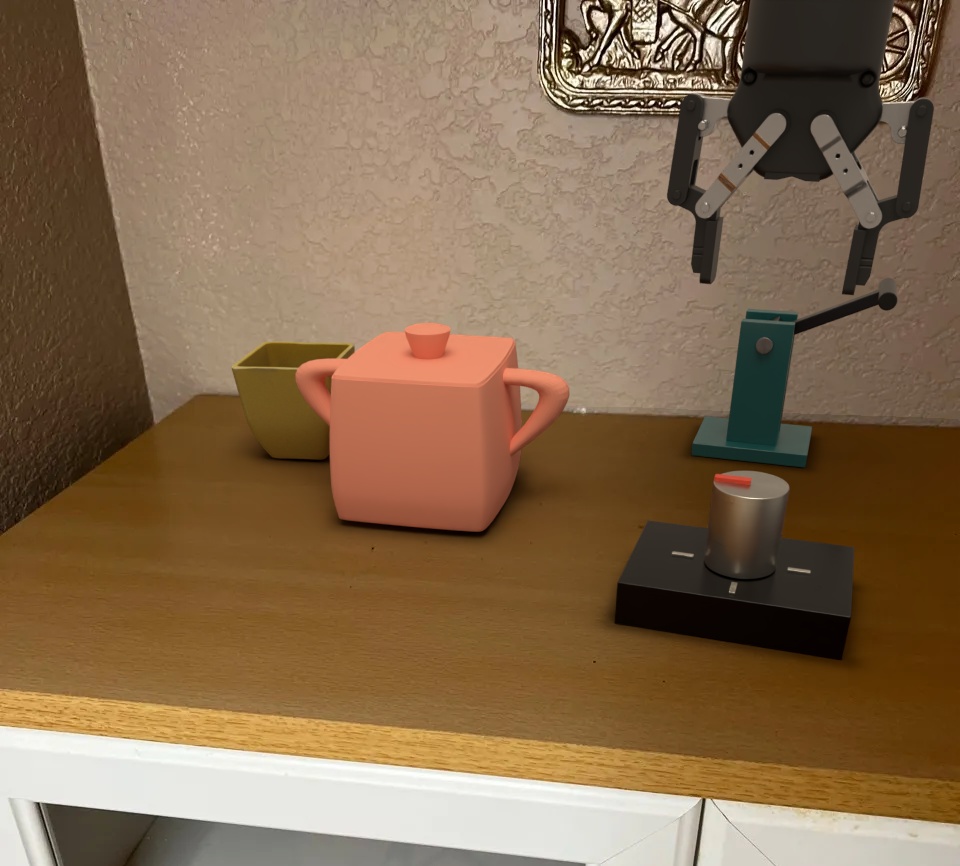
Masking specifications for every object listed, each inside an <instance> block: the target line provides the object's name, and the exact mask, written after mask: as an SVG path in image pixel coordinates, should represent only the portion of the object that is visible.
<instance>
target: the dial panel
mask: <svg viewBox="0 0 960 866" xmlns="http://www.w3.org/2000/svg"><path fill="white" fill-rule="evenodd" d="M707 530H708V527H703V526H696V525H687V524H679V523H672V522H664V521H656V520H650V519H649V520H647V521H646V523H645V524H644V527H643V529H642V531H641V533H640V535H639V537H638V539H637V541H636V544H635V546H634V547H633V550H632V552H631V554H630V556H629V558H628V560H627V561H626V564H625V566H624V568H623V570H622V572H621V574H620V576H619V578H618V580H617V585H616V598H615V610H614V611H615V612H614V623H615V624H619V625H625V626H632V627H637V628H644V629H651V630H656V631H662V632H669V633H674V634H679V635H686V636H693V637H698V638H704V639H705V638H706V639H711V640H717V641H718V640H719V641H724V642H730V643H736V644H742V645H747V646H748V645H750V646H756V647H761V648H766V649H773V650H779V651H786V652H792V653H797V654H799V653H800V654H803V655H804V654H805V655H811V656H816V657H817V656H818V657H822V658H829V659H835V660H843V656H844V652H845V648H846V643H847V637H848V634H849V628H850V625H851V619H852V609H853V608H852V607H853V606H852V604H853V587H854V586H853V583H854V567H855V565H854V564H855V546H849V545H842V544H841V545H840V544H832V543H827V542H826V543H825V542H819V541H818V542H817V541H810V540H803V539H795V538H787V537H781V543H780V549H779V555H778V561H777V567H776V569H775V571H774V572H773V573H772V574H770V575H768V576H766V577H762V578H757V579H738V578H731V577H727V576H724V575H721V574H718V573H716V572H714V571H712V570H711V569H709V568H708V567H707V566H706V564H705V562H704V555H705V547H706V538H707Z"/></svg>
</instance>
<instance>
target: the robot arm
mask: <svg viewBox="0 0 960 866" xmlns="http://www.w3.org/2000/svg"><path fill="white" fill-rule="evenodd" d="M894 6H895V0H750V1H749V6H748V7H749V8H748V15H747V24H746V33H745V39H744V40H745V41H744V47H743V55H742V63H741V70H740V71H741V72H740V77H739V82H738V85H737V87H736V89H735V92H734V93H733V94H732V97H731V98H728V97H718V96H707V94H705V93H703V92H692V93H689V94H687V95H686V96H684V97H683V98H682V100H681V102H680V108H679V114H678V121H677V126H676V128H677V129H676V133H675V141H674V147H673V153H672V159H671V165H670V172H669V179H668V185H667V193H666V199H667V202H668V203H669V204H670V205H671V206H675V207H680V208H682V209H684V210H686V211H688V212H690V213H691V214H692V215H693V217H694V220H695V223H694V226H695V227H694V232H693V233H694V234H693V242H692V243H693V244H692V252H691V261H690V266H691V270H692V273H693V274H699V279H698V280H699V284H701V285H703V284H705V285H712V284H713V283H714V282H715V281H716V279H717V278H716V277H717V272H718V266H719V265H718V264H719V257H720V248H721V240H722V232H723V224H724V216H721V210H722V207H723V206H724V205H725V204H726V203H727V202H728V201H729V200H730V198H731V197H732V196H733V195H734V193H735V192H736V191H737V190H738V189H739V188H740V186H741V185H742V184H743V183H744V182H745V181H747V179H748V177H750V175H751V174H752V173H756V174H757V175H758V176H760V177H761V178H763V180H772V181H775V180H776V181H779V180H782V179H787V178H794V179H798V180H799V181H803V182H813V183H814V182H815V183H820V182H821V181H823V180H826V179H828V178H830V177H832V176H834V178H835V180H836V181H837V183H838V185H839V187H840V190H841V191H842V193H843V194H844V196H845V197H846V199H847V201H848V202H849V204H850V206H851V209H852V210H853V212H854V214H855V216H856V218H857V220H858V223H857V224H855V226H854V228H853V233H852V238H851V242H850V243H851V244H850V249H849V253H848V254H849V255H848V259H847V264H846V270H845V275H844V278H843V279H844V281H843V284H842V290H841V295H845V296H855V292H856V288H857V286H863V287H864V286H866V284H867V283H868V281H869V279H870V278H871V274H872V269H873V265H874V260H875V255H876V250H877V245H878V240H879V235H880V232H881V230H882V229H883V228H884V227H885V226H886V225H888V224H889V223H892V222H896V221H899V220H902V219H909V218H911V217H913V216H914V215H915V214H916V213H917V212H918V210H919V206H920V205H919V204H920V199H921V192H922V185H923V181H924V180H923V179H924V174H925V167H926V162H927V155H928V148H929V143H930V137H931V129H932V123H933V117H934V111H935V107H934V103H933V101H932V99H930V98H929V97H925V96H922V97H918V98H916V100H907V101H885V102H884V101H883V100H882V97H881V93H880V80H881V74H882V69H883V63H884V59H885V53H886V49H887V48H886V47H887V44H888V38H889V32H890V26H891V22H892V17H893V11H894ZM723 118H727V121H728V124H729V126H730V128H731V130H732V132H733V134H734V136H735V137H736V139H737V142H738V143H739V145H740V147H741V149H740V150H738V152H737V153H736V155H734V157H733V158H732V159H731V160H730V161H729V163H728V164H727V165H726V166H725V167H724V169H723V170H722V171H721V172H720V173H719V174H718V176H717V178H716V179H715V180H714V181H713V183H712V184H711V185H710V186H709V187H708V188H707V189H705V188H702V187H700V186H698V185H696V184H697V177H698V172H699V171H698V170H699V164H700V158H701V152H702V147H703V142H704V141H703V140H704V137H708V136H710V135H712V134H713V133H714V132H715V131H716V129H717V125H718V124H719V122H720V121H721V120H722V119H723ZM880 122H883V123H886V124H887V125H888V127H889V128H890V137H891V140H892V141H893V142H894V143H896V144H898V145H904V147H903V154H902V159H901V167H900V173H899V180H898V186H897V194H895V195H891V196H888V197H885V198H881V199H879V196H878V194H877V193H876V191H875V189H874V187H873V184H872V183H871V181H870V179H869V176H868V173H867V172H866V170H865V168H864V166H863V164H862V162H861V160H860V158H859V157H858V155H857V152H856V150H857V149H858V148H859V147H860V146H861V145H862V144H863V142H865V141H866V139H867V138H868V137H869V136H870V135H871V134H872V133H873V131H874V130H875V129H876V128H877V127H878V125H879V124H880Z"/></svg>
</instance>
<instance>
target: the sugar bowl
mask: <svg viewBox="0 0 960 866" xmlns="http://www.w3.org/2000/svg"><path fill="white" fill-rule="evenodd" d="M451 329H452V328H451V327H450V326H448V325H446V324H444V323H439V322H418V323H414V324H411V325H409V326H406V327H405V328H404V331H385V332H382V333H381V334H378V335H377V336H375V337H374V338H372V339H371V340H369V341H368V342H367V343H365V344H364V345H362V346H361V347H360V348H358V349H357V350H355V353H353V354H352V355H351V356H350V357H349V358H348V359H338V358H336V359H317V360H312V361H308V362H306V363H304V364H302V365H301V366H300V367H299V368H298V369H297V371H296V374H295V376H296V383H297V386H298V389H299V390H300V392H301V394H302V396H303V397H304V399H305V400H306V402H307V403H308V404H309V406H310V407H311V408H312V409H313V410H314V411H315V412H316V413H317V414H318V415H319V416H320V417H321V418H322V419H323V420H324V421H325V422H326V423H327V424H328V425H329V426H330V454H329V469H330V485H331V493H332V498H333V503H334V506H335V510H336V514H337V516H338V519H340V520H343V521H350V522H360V523H370V524H378V525H379V524H380V525H388V526H389V525H391V526H399V527H400V526H401V527H409V528H411V527H412V528H421V529H435V530H447V531H461V532H476V533H477V532H478V533H479V532H483V531H484V530H486V529H487V528H488V527H489V526H490V525H491V523H493V521H494V519H495V518H496V517H497V515H498V514H499V512H500V511H501V510H502V508H503V506H504V505H505V503H506V502H507V500H508V498H509V496H510V494H511V492H512V489H513V486H514V484H515V481H516V479H517V475H518V470H519V466H520V462H521V457H522V449H523V448H525V447H526V446H527V445H529V444H530V443H532V442H533V441H534V440H535V439H537V438H538V437H539V436H540V435H542V434H543V433H544V432H545V431H546V430H547V429H548V428H549V427H551V425H553V424H554V423H555V421H557V419H558V418H559V417H560V416H561V414H562V413H563V411H564V410H565V408H566V406H567V404H568V401H569V398H570V386H569V384H568V382H567V381H566V380H565V379H564V378H563V377H560V376H559V375H558V374H554V373H551V372H548V371H542V370H538V369H529V368H519V363H518V362H519V361H518V351H517V343H516V340H515V339H514V338H513V337H506V336H492V335H491V336H490V335H475V334H474V335H472V334H457V333H455V334H453V333H451ZM331 375H332V380H331V394H330V393H329V391H328V389H327V387H326V384H325V378H326V377H327V376H331ZM521 387H524V388H528V389H531V390H534V391H536V392H537V394H538V401H537V404H536V406H535V408H534V409H533V411H532V412H531V414H530V415H529V416H528V419H527V420H526V421H525V423H524V424H522V423H523V421H522V420H523V418H522V417H523V416H522V398H521V397H522V395H521Z"/></svg>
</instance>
